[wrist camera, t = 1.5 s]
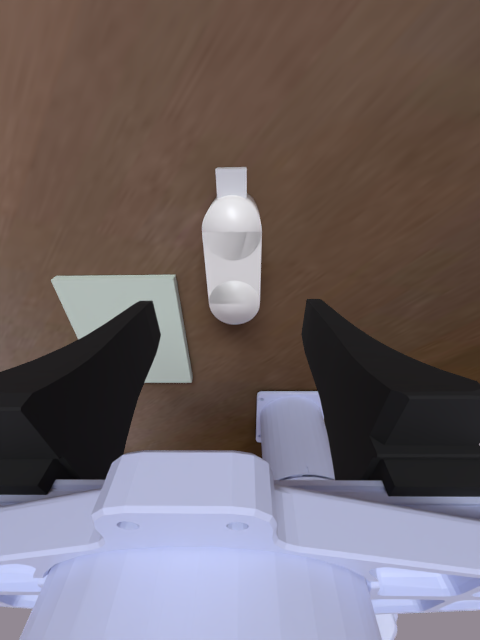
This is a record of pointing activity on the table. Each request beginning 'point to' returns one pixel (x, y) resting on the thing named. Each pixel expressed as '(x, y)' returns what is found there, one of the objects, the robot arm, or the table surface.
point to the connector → (233, 249)
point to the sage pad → (119, 294)
